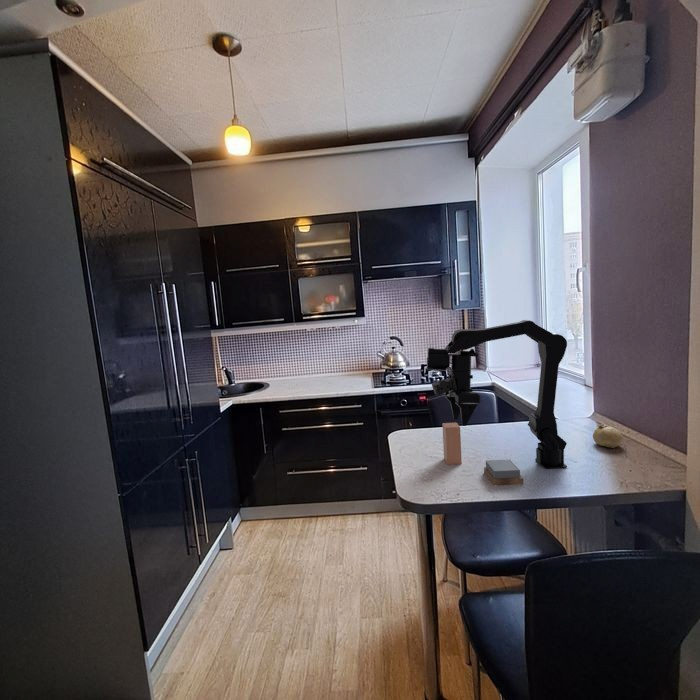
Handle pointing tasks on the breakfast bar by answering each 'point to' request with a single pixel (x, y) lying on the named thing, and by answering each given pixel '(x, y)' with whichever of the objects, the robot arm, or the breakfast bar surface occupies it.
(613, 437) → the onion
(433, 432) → the breakfast bar surface
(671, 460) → the breakfast bar surface
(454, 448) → the pillar
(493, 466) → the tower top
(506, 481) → the tower base
